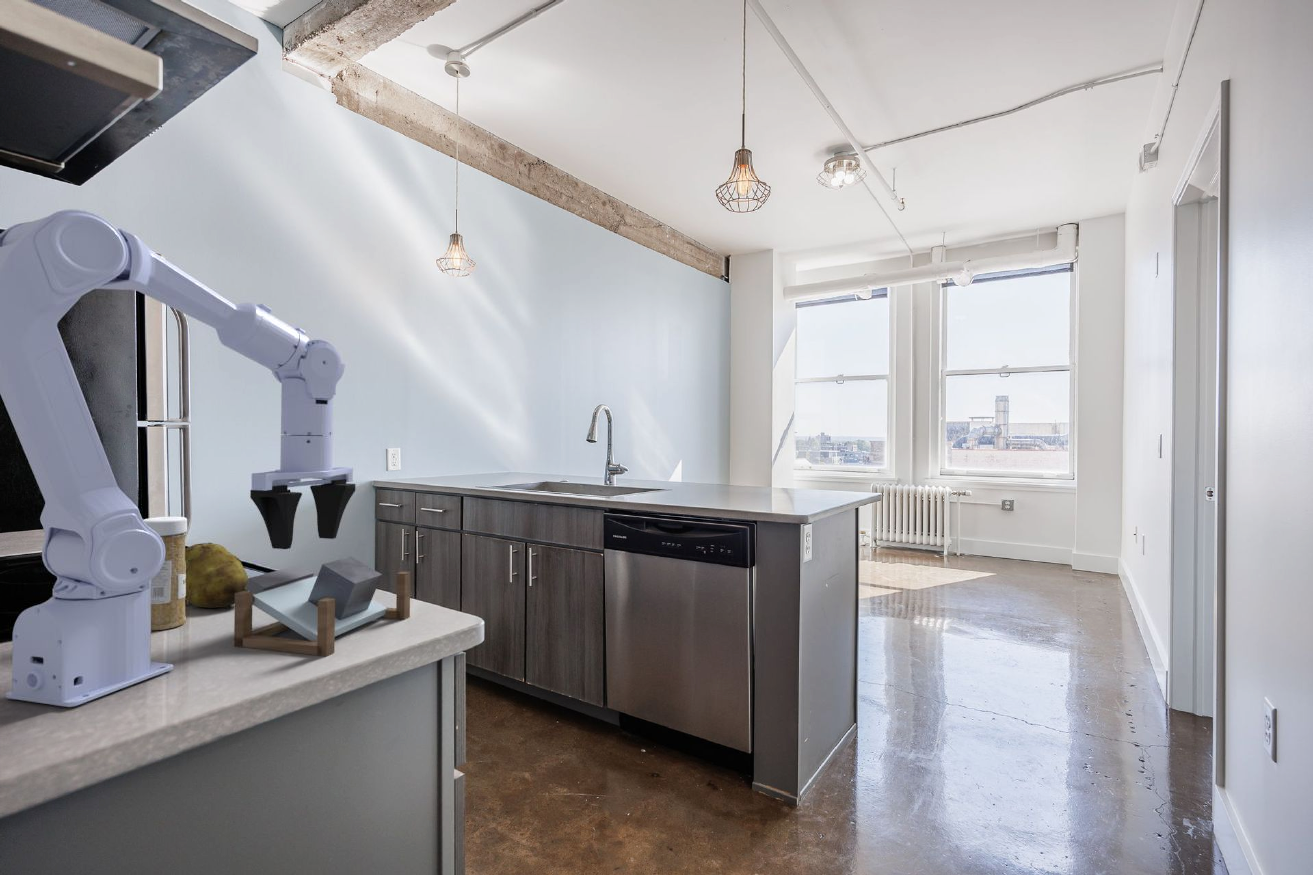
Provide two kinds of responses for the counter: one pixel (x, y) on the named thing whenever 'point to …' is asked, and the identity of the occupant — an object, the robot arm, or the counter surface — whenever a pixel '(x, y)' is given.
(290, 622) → the trapdoor
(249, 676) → the counter surface
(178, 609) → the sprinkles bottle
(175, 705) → the counter surface
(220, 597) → the potato
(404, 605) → the frame
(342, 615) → the iron block
